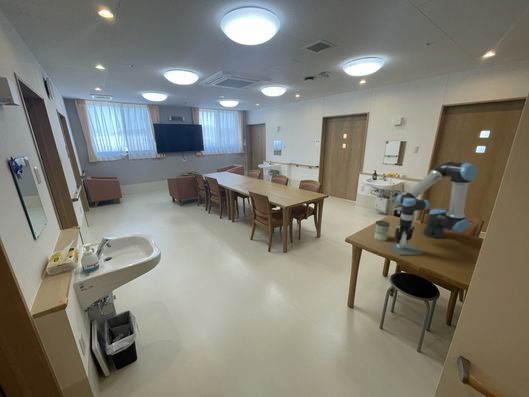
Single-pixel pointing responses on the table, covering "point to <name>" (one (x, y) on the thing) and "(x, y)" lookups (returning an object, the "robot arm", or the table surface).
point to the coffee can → (381, 230)
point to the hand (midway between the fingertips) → (401, 247)
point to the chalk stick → (403, 241)
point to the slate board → (405, 250)
